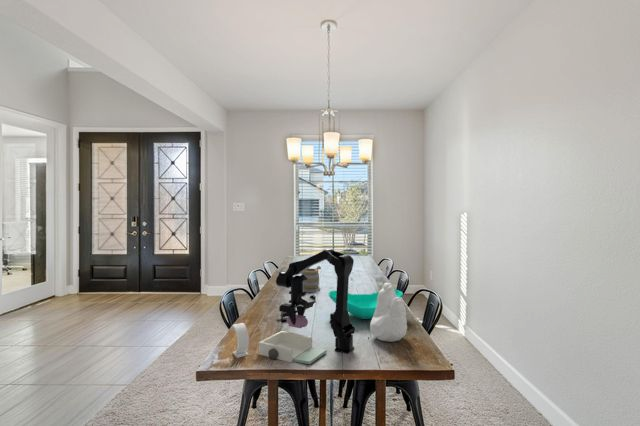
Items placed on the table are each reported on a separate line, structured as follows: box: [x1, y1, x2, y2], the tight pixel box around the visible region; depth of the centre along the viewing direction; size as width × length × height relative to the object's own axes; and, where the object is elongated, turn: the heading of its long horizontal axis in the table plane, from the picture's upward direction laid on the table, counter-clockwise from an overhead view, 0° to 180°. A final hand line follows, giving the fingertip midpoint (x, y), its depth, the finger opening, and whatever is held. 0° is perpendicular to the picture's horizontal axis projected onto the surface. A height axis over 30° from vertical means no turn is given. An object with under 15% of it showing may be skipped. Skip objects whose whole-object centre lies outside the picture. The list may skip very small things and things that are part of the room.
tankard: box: [301, 265, 322, 293], centre depth 274 cm, size 20×13×15 cm, turn 147°
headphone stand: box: [232, 322, 250, 359], centre depth 160 cm, size 5×6×12 cm
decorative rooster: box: [369, 282, 408, 343], centre depth 175 cm, size 25×16×25 cm, turn 1°
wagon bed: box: [258, 330, 313, 363], centre depth 164 cm, size 16×19×5 cm
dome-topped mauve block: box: [286, 313, 309, 329], centre depth 180 cm, size 11×4×4 cm, turn 60°
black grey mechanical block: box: [275, 311, 288, 323], centre depth 205 cm, size 12×7×5 cm, turn 114°
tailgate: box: [292, 347, 328, 365], centre depth 158 cm, size 1×13×8 cm
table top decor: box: [328, 289, 404, 320], centre depth 210 cm, size 40×28×13 cm
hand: (297, 323), depth 180 cm, fingers closed on dome-topped mauve block, 4 cm apart
